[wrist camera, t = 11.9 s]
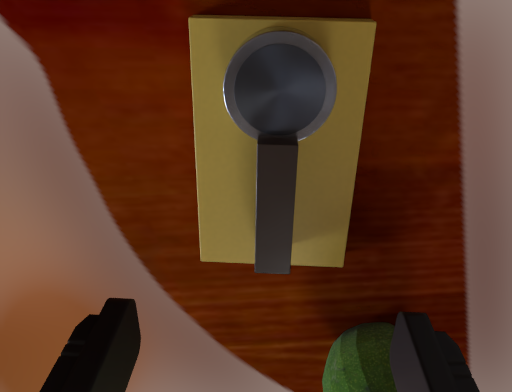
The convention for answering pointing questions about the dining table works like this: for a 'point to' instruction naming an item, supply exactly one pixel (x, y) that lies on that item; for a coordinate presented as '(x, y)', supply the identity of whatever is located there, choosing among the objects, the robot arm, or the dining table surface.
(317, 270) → the dining table surface
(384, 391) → the avocado
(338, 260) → the board
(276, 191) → the frying pan
